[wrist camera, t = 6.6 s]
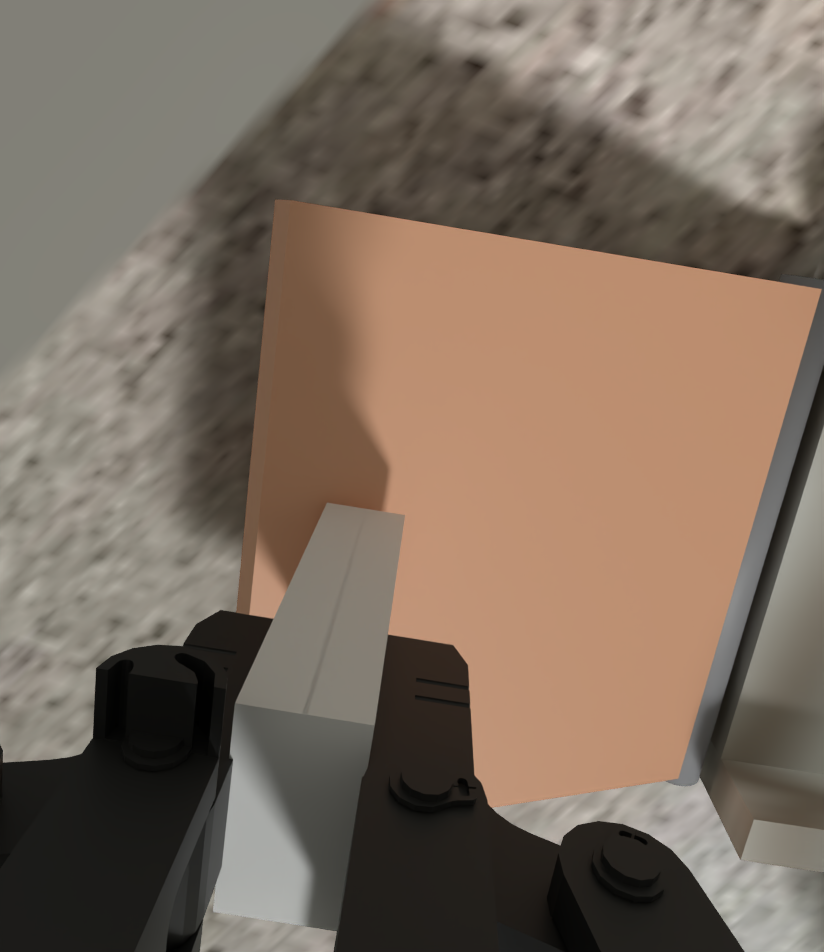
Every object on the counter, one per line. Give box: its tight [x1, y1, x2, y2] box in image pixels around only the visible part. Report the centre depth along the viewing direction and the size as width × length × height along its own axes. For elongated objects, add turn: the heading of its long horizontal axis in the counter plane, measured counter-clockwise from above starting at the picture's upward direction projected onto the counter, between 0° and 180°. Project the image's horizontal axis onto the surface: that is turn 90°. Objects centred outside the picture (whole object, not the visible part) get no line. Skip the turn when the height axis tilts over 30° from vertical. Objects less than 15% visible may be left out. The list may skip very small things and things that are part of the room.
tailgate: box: [236, 199, 824, 808], centre depth 17 cm, size 1×13×13 cm
